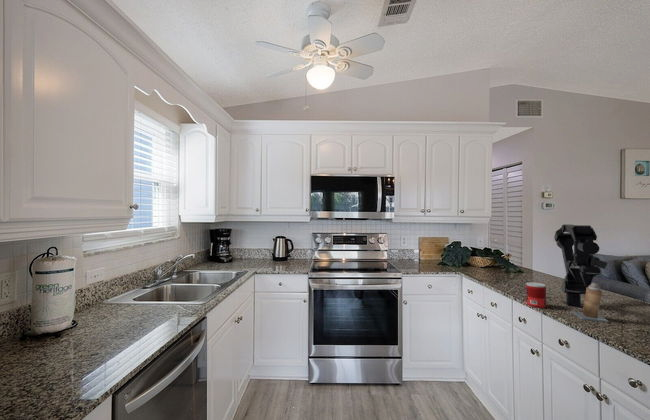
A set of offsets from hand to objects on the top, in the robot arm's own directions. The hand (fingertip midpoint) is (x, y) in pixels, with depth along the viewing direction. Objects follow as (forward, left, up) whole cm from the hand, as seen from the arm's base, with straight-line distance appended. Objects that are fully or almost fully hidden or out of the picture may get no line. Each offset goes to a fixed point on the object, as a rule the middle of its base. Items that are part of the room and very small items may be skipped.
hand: (582, 285), depth 132 cm
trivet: (+6, 0, -13) cm, 14 cm away
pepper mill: (+6, 0, -12) cm, 13 cm away
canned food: (-5, -17, -14) cm, 22 cm away
